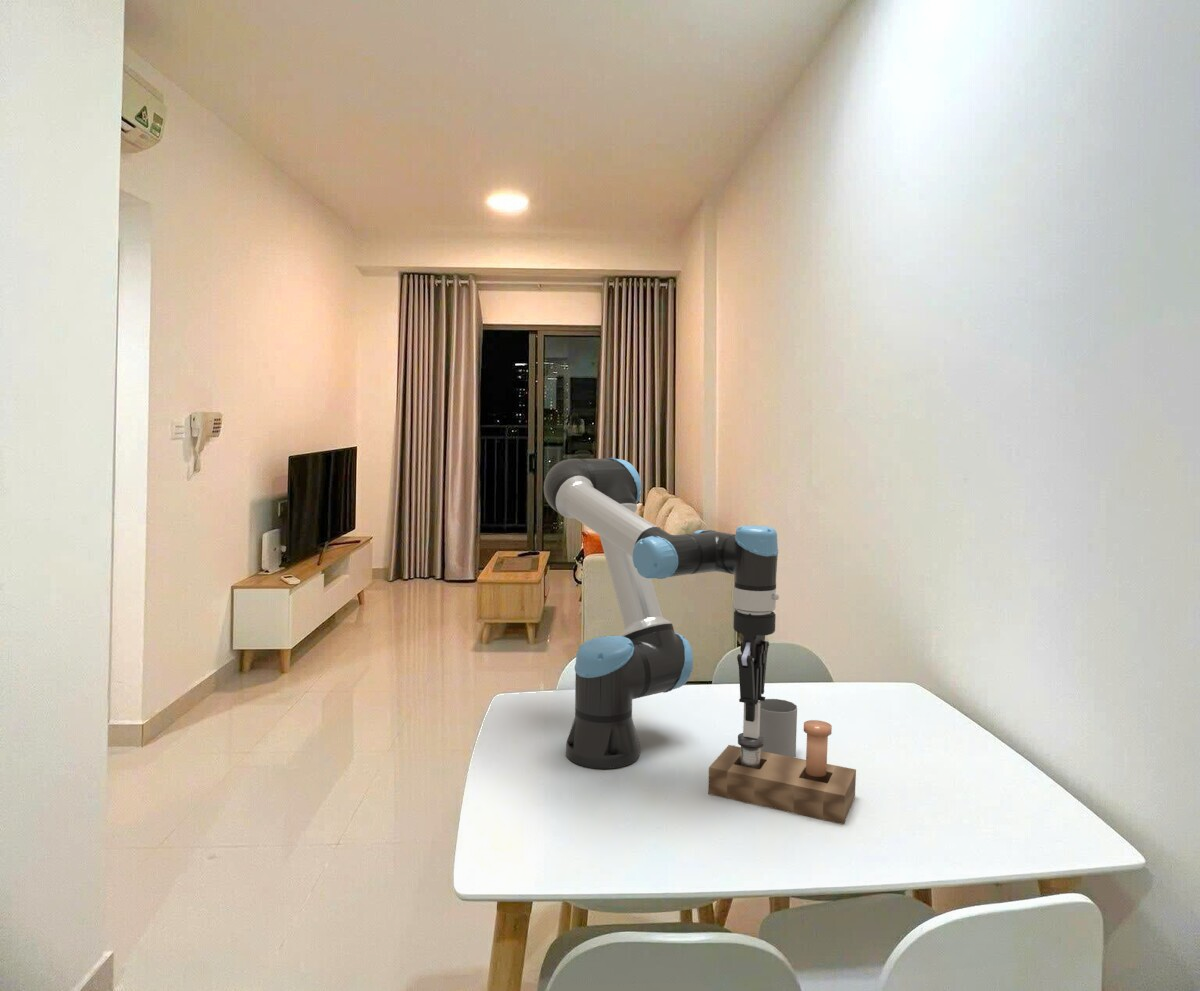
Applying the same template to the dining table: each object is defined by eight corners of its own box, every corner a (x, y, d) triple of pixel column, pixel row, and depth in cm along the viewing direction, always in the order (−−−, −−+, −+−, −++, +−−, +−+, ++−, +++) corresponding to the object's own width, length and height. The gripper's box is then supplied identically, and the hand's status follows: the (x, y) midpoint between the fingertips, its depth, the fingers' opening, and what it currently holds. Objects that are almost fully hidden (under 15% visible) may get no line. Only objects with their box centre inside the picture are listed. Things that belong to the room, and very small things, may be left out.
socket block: (708, 793, 144) (708, 767, 143) (728, 769, 154) (728, 744, 154) (843, 824, 133) (844, 795, 133) (855, 796, 144) (856, 769, 143)
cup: (796, 762, 158) (797, 714, 158) (754, 758, 160) (756, 710, 159) (794, 746, 167) (796, 700, 166) (755, 743, 168) (756, 697, 167)
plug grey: (733, 784, 145) (734, 739, 145) (740, 775, 149) (742, 730, 149) (758, 790, 143) (760, 743, 142) (765, 780, 147) (767, 735, 147)
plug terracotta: (799, 774, 140) (801, 726, 139) (805, 764, 144) (806, 718, 143) (827, 780, 137) (828, 731, 137) (832, 770, 142) (833, 723, 141)
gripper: (765, 619, 136) (762, 752, 138) (783, 606, 148) (780, 728, 150) (723, 615, 140) (720, 744, 141) (744, 601, 151) (741, 721, 153)
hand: (751, 736), depth 146 cm, fingers closed
